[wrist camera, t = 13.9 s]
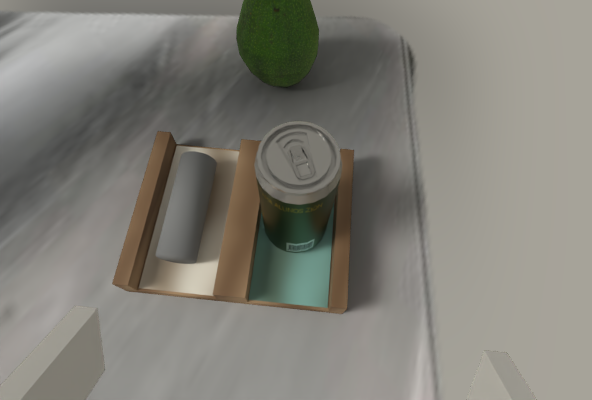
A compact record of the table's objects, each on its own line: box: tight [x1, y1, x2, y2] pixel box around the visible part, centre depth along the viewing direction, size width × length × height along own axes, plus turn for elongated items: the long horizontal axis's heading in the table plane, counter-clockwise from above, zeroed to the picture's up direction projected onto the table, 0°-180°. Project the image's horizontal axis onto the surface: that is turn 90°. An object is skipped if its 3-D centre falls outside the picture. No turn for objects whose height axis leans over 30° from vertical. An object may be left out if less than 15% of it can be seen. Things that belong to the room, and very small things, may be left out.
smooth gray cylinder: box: [155, 151, 217, 264], centre depth 32 cm, size 9×3×3 cm, turn 174°
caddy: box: [112, 131, 354, 314], centre depth 33 cm, size 18×14×3 cm
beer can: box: [254, 121, 342, 253], centre depth 28 cm, size 5×5×12 cm
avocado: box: [237, 0, 319, 87], centre depth 36 cm, size 8×8×12 cm
